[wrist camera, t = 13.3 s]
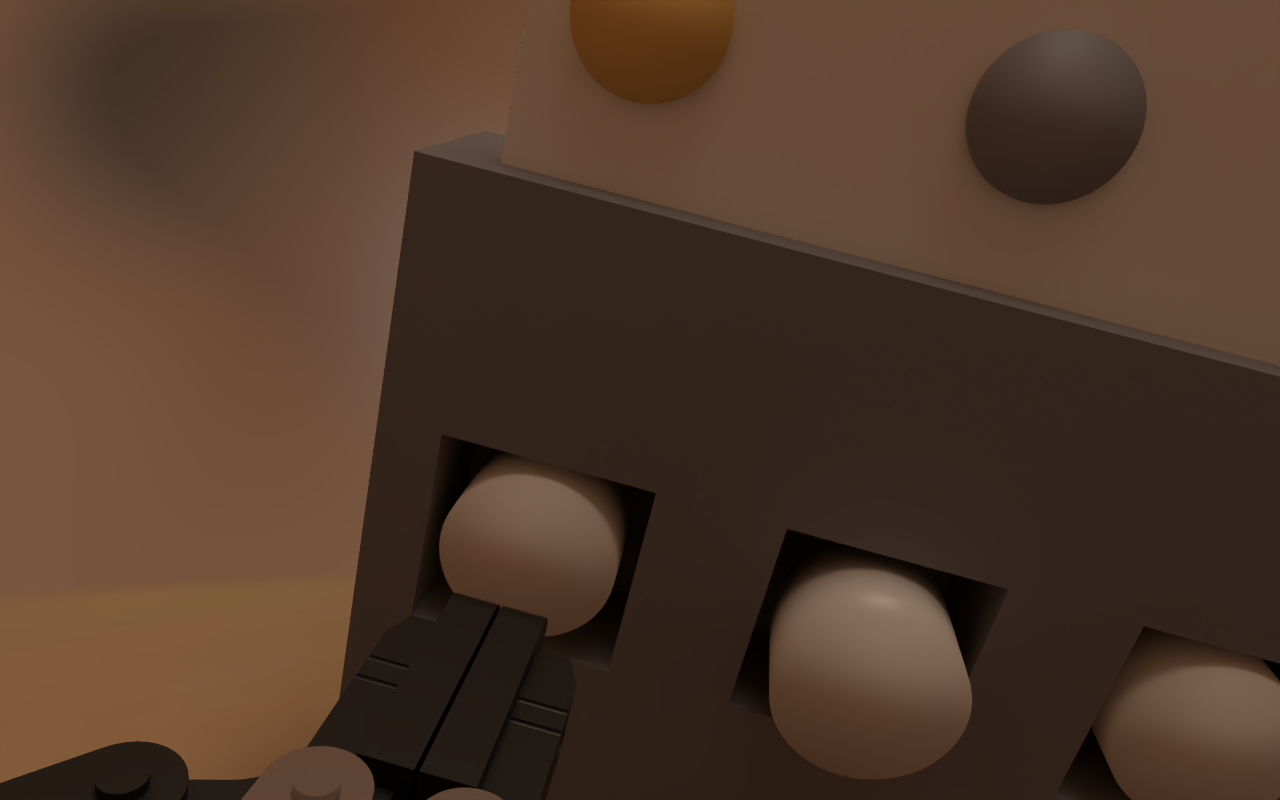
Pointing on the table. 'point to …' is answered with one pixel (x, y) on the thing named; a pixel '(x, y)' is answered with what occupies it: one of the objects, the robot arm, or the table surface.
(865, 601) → the middle button
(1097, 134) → the card
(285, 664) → the table surface
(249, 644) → the table surface
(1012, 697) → the button panel
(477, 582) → the button
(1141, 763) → the button
